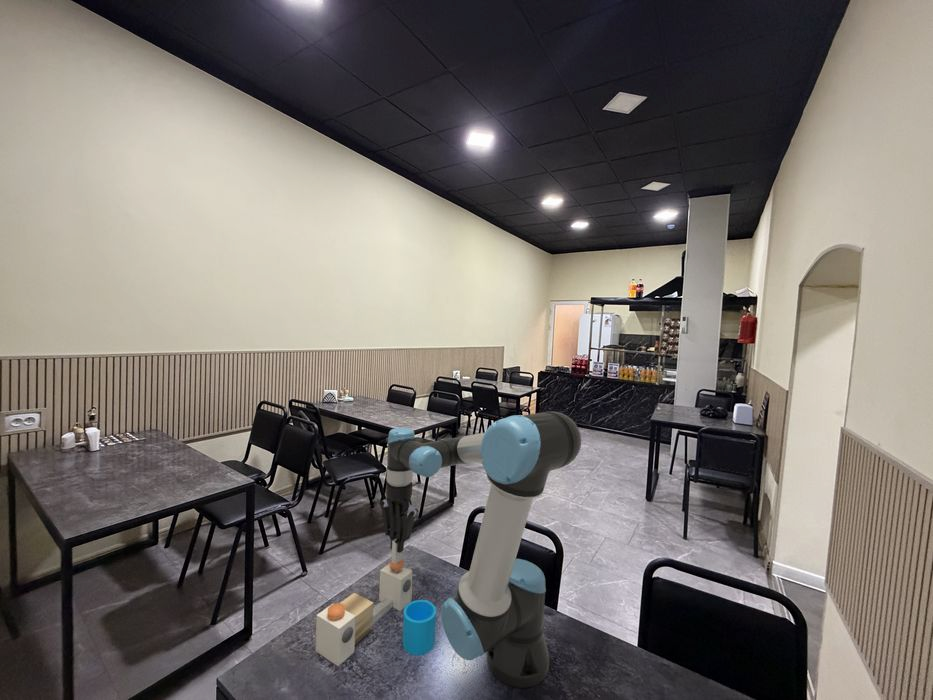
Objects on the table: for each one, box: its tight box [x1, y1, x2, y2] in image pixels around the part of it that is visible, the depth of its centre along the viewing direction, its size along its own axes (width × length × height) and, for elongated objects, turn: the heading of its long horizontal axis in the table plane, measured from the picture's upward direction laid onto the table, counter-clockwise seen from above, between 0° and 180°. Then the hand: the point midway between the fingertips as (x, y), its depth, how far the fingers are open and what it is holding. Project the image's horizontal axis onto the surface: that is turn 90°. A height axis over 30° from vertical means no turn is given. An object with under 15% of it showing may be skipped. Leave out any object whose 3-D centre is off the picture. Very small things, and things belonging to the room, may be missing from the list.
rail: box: [373, 597, 393, 625], centre depth 103 cm, size 2×17×2 cm, turn 149°
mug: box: [402, 599, 437, 656], centre depth 100 cm, size 12×8×8 cm
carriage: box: [339, 592, 374, 645], centre depth 99 cm, size 7×6×8 cm
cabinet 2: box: [378, 563, 413, 612], centre depth 113 cm, size 8×5×9 cm, turn 59°
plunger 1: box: [327, 602, 345, 620], centre depth 94 cm, size 4×4×5 cm
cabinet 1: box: [315, 603, 356, 667], centre depth 94 cm, size 8×5×9 cm, turn 59°
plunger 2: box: [389, 559, 405, 574], centre depth 113 cm, size 4×4×5 cm
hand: (396, 561), depth 113 cm, fingers closed
